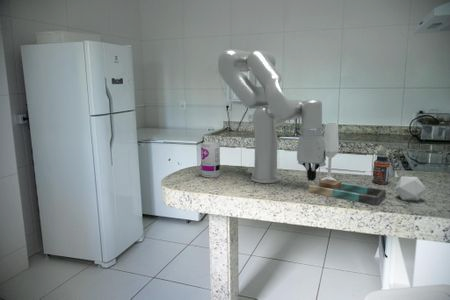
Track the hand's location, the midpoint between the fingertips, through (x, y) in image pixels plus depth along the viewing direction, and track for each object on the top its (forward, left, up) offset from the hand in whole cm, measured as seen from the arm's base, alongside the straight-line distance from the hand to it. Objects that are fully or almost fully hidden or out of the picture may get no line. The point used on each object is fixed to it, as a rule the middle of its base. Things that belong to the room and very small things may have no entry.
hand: (311, 179), depth 127 cm
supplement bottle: (+19, +24, -4) cm, 31 cm away
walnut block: (+7, 0, -4) cm, 8 cm away
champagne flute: (+1, +15, -4) cm, 15 cm away
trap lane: (+13, 0, -3) cm, 14 cm away
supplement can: (-44, -9, -4) cm, 45 cm away
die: (+32, +8, -4) cm, 34 cm away
